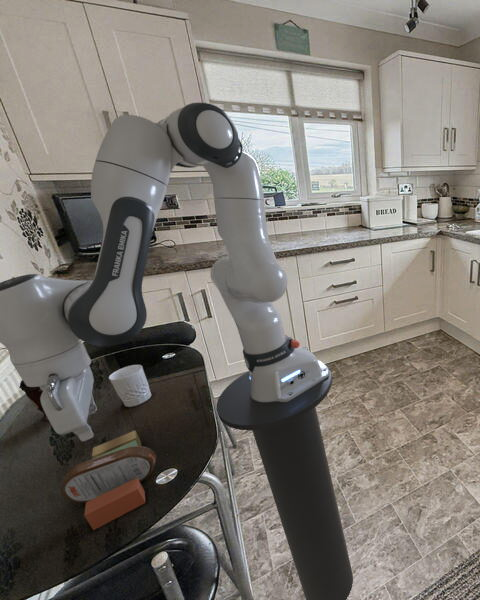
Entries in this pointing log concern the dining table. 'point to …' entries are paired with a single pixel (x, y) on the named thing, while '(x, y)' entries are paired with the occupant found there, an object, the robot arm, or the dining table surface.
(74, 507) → the dining table surface
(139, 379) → the white cup
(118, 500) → the terracotta block
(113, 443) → the beech block
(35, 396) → the coffee cup
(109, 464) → the tin
